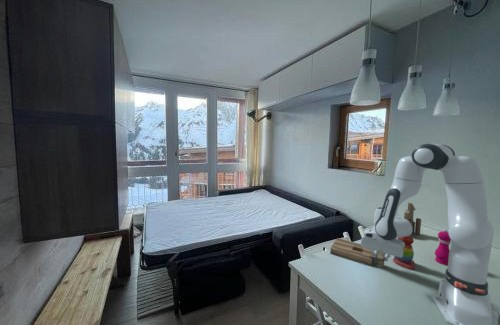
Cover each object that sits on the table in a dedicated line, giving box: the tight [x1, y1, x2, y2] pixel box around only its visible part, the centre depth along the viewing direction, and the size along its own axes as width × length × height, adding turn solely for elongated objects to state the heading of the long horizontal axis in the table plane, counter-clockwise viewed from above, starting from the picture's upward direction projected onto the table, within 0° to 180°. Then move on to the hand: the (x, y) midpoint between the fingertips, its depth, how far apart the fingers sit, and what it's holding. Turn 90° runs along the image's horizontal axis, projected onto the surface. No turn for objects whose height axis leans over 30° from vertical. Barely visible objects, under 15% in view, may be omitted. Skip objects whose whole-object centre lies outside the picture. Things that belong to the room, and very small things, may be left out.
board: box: [329, 237, 373, 267], centre depth 127 cm, size 18×22×4 cm
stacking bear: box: [392, 235, 415, 270], centre depth 117 cm, size 11×10×18 cm
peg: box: [375, 249, 386, 268], centre depth 115 cm, size 4×4×10 cm
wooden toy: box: [403, 202, 422, 237], centre depth 157 cm, size 16×7×25 cm, turn 114°
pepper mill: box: [434, 228, 452, 266], centre depth 119 cm, size 7×7×20 cm
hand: (380, 259), depth 115 cm, fingers closed on peg, 4 cm apart
